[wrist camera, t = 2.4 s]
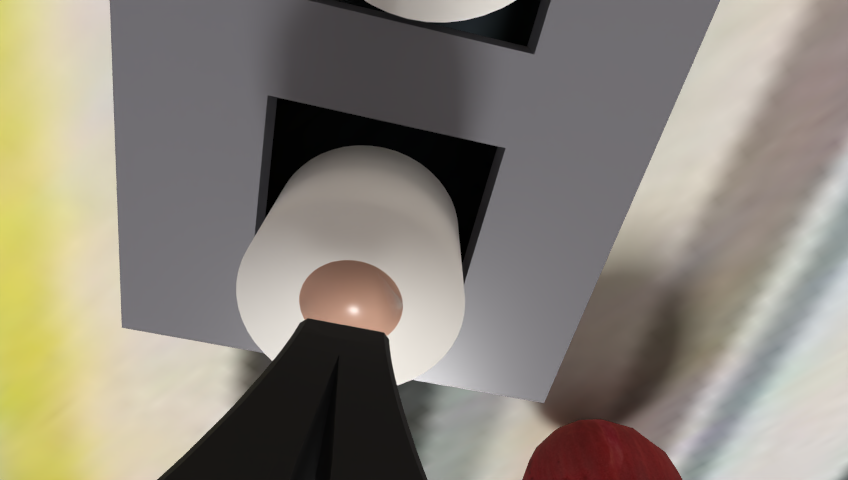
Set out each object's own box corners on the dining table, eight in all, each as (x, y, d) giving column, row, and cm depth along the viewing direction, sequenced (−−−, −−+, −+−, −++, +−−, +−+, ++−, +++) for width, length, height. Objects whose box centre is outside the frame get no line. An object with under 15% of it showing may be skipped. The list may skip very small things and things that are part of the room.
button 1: (266, 291, 14) (229, 370, 12) (285, 126, 12) (244, 176, 10) (435, 322, 15) (436, 406, 12) (479, 168, 13) (492, 228, 10)
